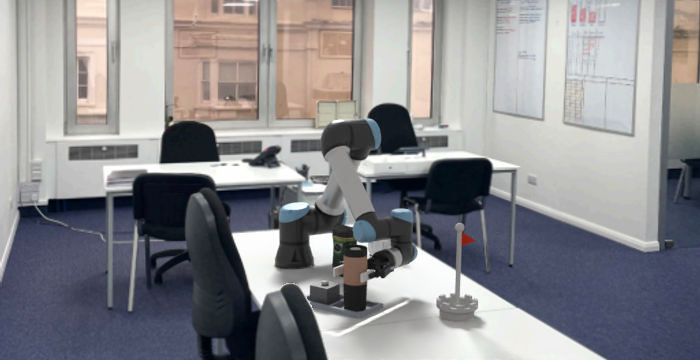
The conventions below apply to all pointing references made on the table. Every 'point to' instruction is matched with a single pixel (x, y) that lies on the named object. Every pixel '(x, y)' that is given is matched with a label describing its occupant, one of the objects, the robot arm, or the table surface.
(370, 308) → the dock
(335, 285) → the seated block
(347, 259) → the travel mug
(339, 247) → the coffee jar
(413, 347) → the table surface
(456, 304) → the flag stand
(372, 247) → the cable organizer
